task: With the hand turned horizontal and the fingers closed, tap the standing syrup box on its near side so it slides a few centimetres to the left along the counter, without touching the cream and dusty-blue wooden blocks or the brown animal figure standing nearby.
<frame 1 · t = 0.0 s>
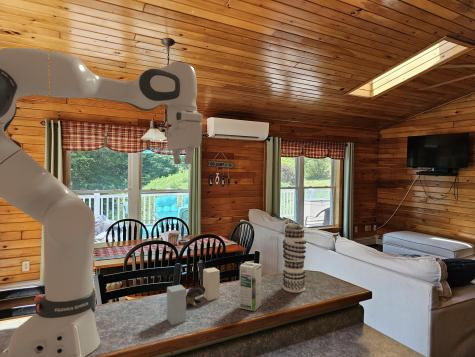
hand: (182, 164, 97), 48 cm above the kitchen counter, tool pointing down, fingers open, 8 cm apart
cream block: (211, 297, 117), on the kitchen counter
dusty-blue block: (176, 320, 99), on the kitchen counter
decorative candle: (294, 288, 126), on the kitchen counter
brown animal figure: (191, 306, 109), on the kitchen counter
syrup box: (250, 307, 109), on the kitchen counter
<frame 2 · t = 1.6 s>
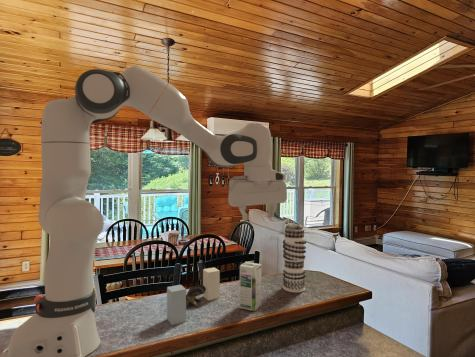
hand: (258, 218, 102), 31 cm above the kitchen counter, tool pointing down, fingers open, 8 cm apart
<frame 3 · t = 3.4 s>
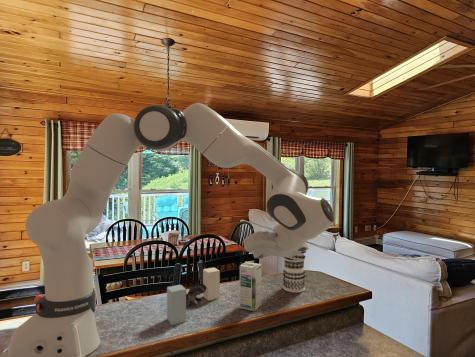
hand: (256, 256, 103), 19 cm above the kitchen counter, tool tilted 55°, fingers closed
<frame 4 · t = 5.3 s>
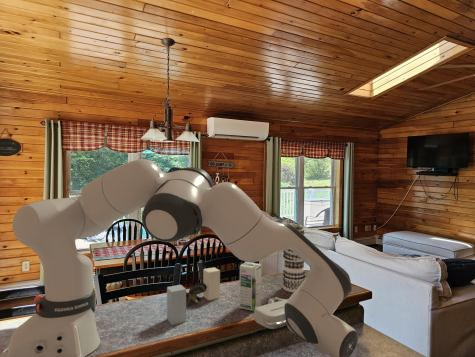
hand: (272, 300, 98), 6 cm above the kitchen counter, tool horizontal, fingers closed
cream block: (211, 297, 117), on the kitchen counter, touching brown animal figure
brown animal figure: (193, 303, 112), on the kitchen counter, touching cream block
everything else where it was.
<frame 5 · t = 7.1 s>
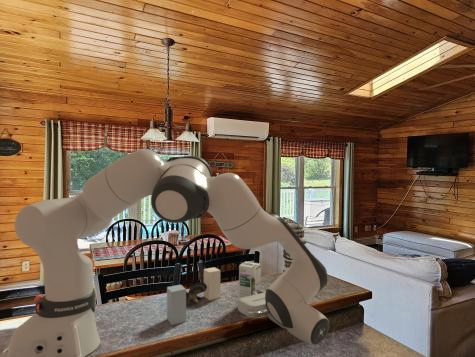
hand: (256, 292, 105), 6 cm above the kitchen counter, tool horizontal, fingers closed
cream block: (211, 297, 117), on the kitchen counter
brown animal figure: (193, 302, 112), on the kitchen counter
syrup box: (249, 307, 109), on the kitchen counter, touching gripper
everything else where it was.
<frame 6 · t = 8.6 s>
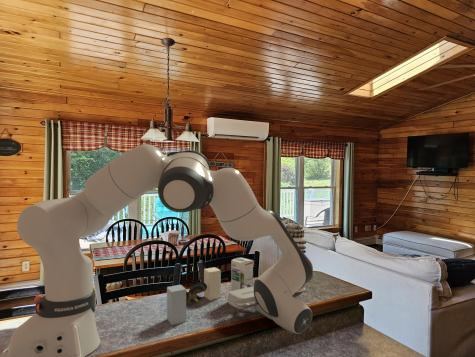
hand: (246, 286, 111), 6 cm above the kitchen counter, tool horizontal, fingers closed
cream block: (212, 296, 117), on the kitchen counter, touching brown animal figure
brown animal figure: (193, 302, 113), on the kitchen counter, touching cream block
syrup box: (241, 300, 114), on the kitchen counter, touching gripper
everything else where it was.
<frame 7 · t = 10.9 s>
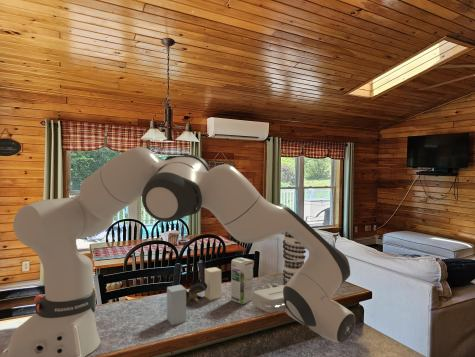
hand: (270, 286, 98), 11 cm above the kitchen counter, tool horizontal, fingers closed
cream block: (212, 296, 117), on the kitchen counter
brown animal figure: (193, 302, 113), on the kitchen counter
syrup box: (241, 300, 114), on the kitchen counter
everything else where it was.
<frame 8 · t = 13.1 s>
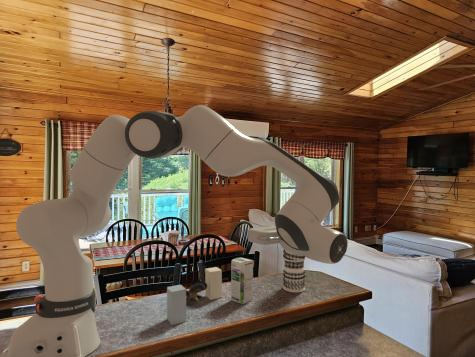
hand: (266, 228, 100), 28 cm above the kitchen counter, tool horizontal, fingers closed
at the end: syrup box moved 6.2 cm from its start; syrup box tilted 0°; cream block moved 0.9 cm from its start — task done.
